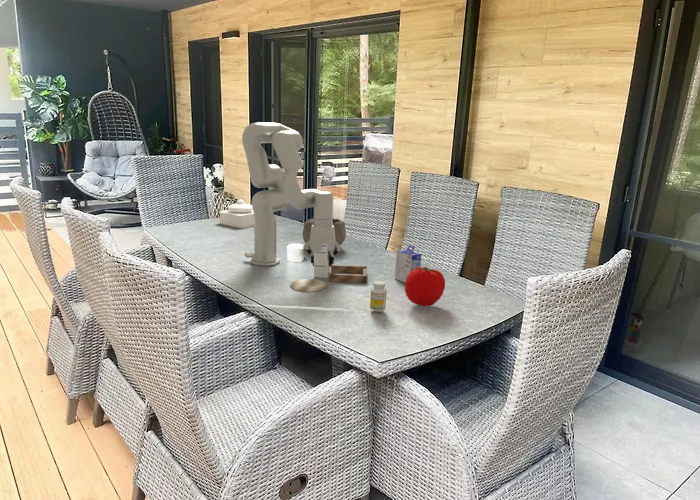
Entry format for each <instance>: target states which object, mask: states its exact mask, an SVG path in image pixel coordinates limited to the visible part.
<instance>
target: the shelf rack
mask: <svg viewBox="0 0 700 500" xmlns="http://www.w3.org/2000/svg"><path fill="white" fill-rule="evenodd" d="M367 268H368V267H367V265H350V264H332V266H331V267H330V274H329V276H328V278H329V279H328V282H332V283H352V284H353V283H356V284H367V281H368V271H367Z"/></svg>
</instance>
